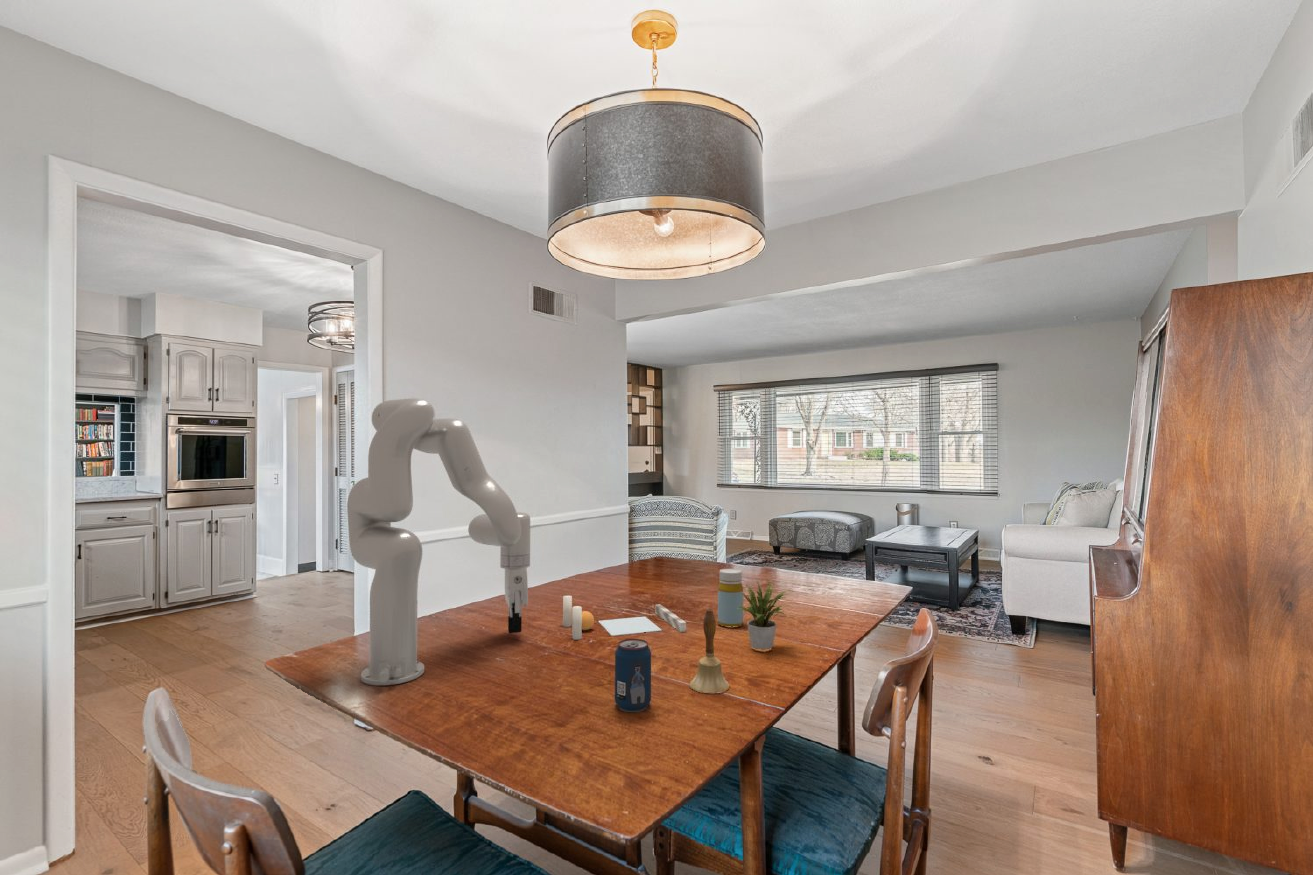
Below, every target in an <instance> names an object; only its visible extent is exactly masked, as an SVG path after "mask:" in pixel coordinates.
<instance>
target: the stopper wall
mask: <svg viewBox="0 0 1313 875" xmlns="http://www.w3.org/2000/svg"><path fill="white" fill-rule="evenodd" d="M654 613H655V614H656V616H658V617H659V618H661V619H662V620H663V619H664V620H663V621H665V622H666V623H667V624H669V625H670V626H671V625H672V626H671V627H673V628H674V629H675V628H676V629H675V630H677V631H678V632H679V633H687V622H686V621H684V620H683V619H682V618H681V617H679V616H677V615H676V614H675V613H674V612H673V611H671V610H670V609H668V608H666V607H665V606H663V605H662V604H660V603H658V604H655V605H654Z"/></svg>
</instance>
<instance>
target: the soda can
mask: <svg viewBox="0 0 1313 875" xmlns="http://www.w3.org/2000/svg"><path fill="white" fill-rule="evenodd" d="M617 645H618V646H617V648H616V650H615V651H614V701H615V704H616V705H617V707H618V709H619V710H621V711H623V712H627V713H639V712H643V711H645V710H646V709H647V708H648V706H649V705H650V703H651V701H652V651H651V648H650V646H649V643H648V641H647V640H644V639H641V638H625V639H622V640H620V641H618V643H617Z"/></svg>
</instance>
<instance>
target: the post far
mask: <svg viewBox="0 0 1313 875" xmlns="http://www.w3.org/2000/svg"><path fill="white" fill-rule="evenodd" d="M572 607H573V595H563V596H562V626H563V627H564V628H569V627H572Z"/></svg>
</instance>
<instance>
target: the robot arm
mask: <svg viewBox="0 0 1313 875" xmlns="http://www.w3.org/2000/svg"><path fill="white" fill-rule="evenodd" d="M435 412H436V411H435V408H434V406H433V405H432V404H431V403H430V402H429V401H428V400H425V399H421V398H417V397H416V398H414V397H413V398H412V397H411V398H402V399H401V398H400V399H389V400H386V401H383V402H382V401H381V403H378V404H377V405H376V406H375V408H374V409H373V411H372V413H371V423H372V426H373V428H374V429H375V431H376V432H375V433H374V434H373V437H372V439H371V441H370V445H369V448H368V455H367V465H368V466H367V468H368V470H367V474H368V476H367V477H365V478H362V479H360V480H358V481H357V482H355V484H354V485H353V486H352V487H351V489H350V491H349V494H348V496H347V504H346V505H347V510H346V512H347V525H348V526H347V527H348V539H349V548H350V553H351V556H352V558H353V560H354V561H355V562H356V563H358V565H360V566H362V567H365V568H369V569H372V570H375V571H374V576H373V579H372V582H371V585H370V590H369V635H368V636H369V637H368V638H369V642H368V643H369V649H368V656H369V657H368V660H369V661H368V667H366V668H365V669H363V670H362V671H361V674H360V680H361V682H362V683H364V684H366V685H371V686H392V685H393V686H394V685H399V684H404V683H407V682H410V681H414V680H415V679H418V678H420V677H421V676H422V675H423V674H424V673H425V665H424V663H423V662H421V661H418V593H419V592H418V590H419V588H418V587H419V586H418V585H419V576H420V575H419V574H420V569H421V564H422V559H423V546H422V542H421V540H420V538H419V537H418V536H417V535H416V534H415V533H414V532H412V531H410V530H407V529H405V528H401V527H395V526H394V527H393V526H391V524H392V523H398V522H401V521H404V520H405V519H406V518H408V517H409V516H410V515H411V512H412V510H413V508H414V507H413V505H414V495H413V482H412V481H413V480H412V454H413V451H414V450H417V451H420V452H423V453H426V454H433V455H434V454H435V455H436V454H437V455H438V456H439V457H440V461H441V462H442V465H443V467H444V469H445V472H446V473H447V475H448V478H449V480H450V483H451V485H452V487H453V488H454V489H455V490H456V491H457V492H458V493H460V495H462V496H464V497H466V498H467V499H469V500H471V501H472V502H474V503H475V504H476V505H478V506H479V507H480V509H482V511H483V512H484V514H480V515H479V514H478V515H477V516H474V517H473V519H471V521H470V522H469V525H468V530H467V531H468V535H469V537H470V538H471V539H472V540H473V541H474V542H476V543H478V544H482V545H486V546H495V547H500V556H499V557H500V558H499V560H500V563H499V564H500V568H501V569H504V599H505V603H506V605H507V606H508V617H507V620H508V621H507V623H508V624H507V631H508V634H514V633H515V634H516V633H521V632H522V629H523V628H522V625H523V624H522V623H523V622H522V620H523V619H522V605H523V606H524V607H526V608H527V607H528V606H529V589H528V584H529V583H528V570H527V568H529V567H531V516H530V515H529V514H528V513H527V512H520V511H517V510H516V507H515V505H514V503H513V501H512V499H511V498H510V497H509V495H508V494H507V493H506V492H505V490H504V489H503V488H502V487H501V486H500V485H499V483H497V481H496V480H495V479H494V478H493V477H491V476H490V475H489V473H488V472H487V469H486V467H485V464H484V463H483V462H484V461H483V459H482V457H481V455H480V452H479V450H478V448H477V446H476V443H475V441H474V439H473V438H474V437H473V436H472V434H471V431H470V430H469V426H468V425H467V424H466V423H465V422H464V421H462V420H460V419H457V418H435V417H436V413H435Z"/></svg>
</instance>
